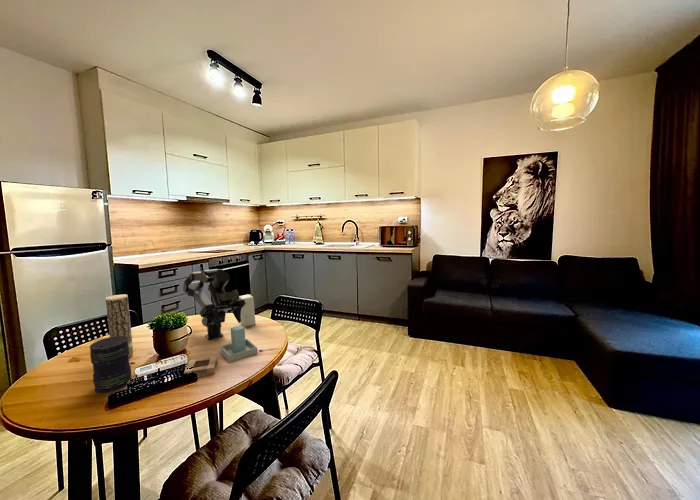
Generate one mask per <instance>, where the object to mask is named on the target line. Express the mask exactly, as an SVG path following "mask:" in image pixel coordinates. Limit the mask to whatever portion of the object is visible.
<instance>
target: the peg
mask: <svg viewBox="0 0 700 500" xmlns="http://www.w3.org/2000/svg"><path fill="white" fill-rule="evenodd" d="M245 328H246V327H245V326H243V325H237V326H236V325H235V326H233V327H230V341H231V342H230V343H231V344H232V352H233V353H238V352H241V351H245V350H246V345H245V339H246V331H245V330H246V329H245Z"/></svg>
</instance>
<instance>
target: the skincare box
mask: <svg viewBox="0 0 700 500" xmlns="http://www.w3.org/2000/svg"><path fill="white" fill-rule="evenodd" d="M240 299H243V300H244V301H245V303H246V304H245V305H244V306H243V308H242V309H241V322H240V323H241V324H242V326H243V327H244V328H246V327H250V326H255V325H256V314H255V313H256V312H255V311H256V310H255V302H254V296H252V295H251V294H250V293H249V294H248V293H247V294H244V295H239V296H238V300H240Z"/></svg>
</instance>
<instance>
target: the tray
mask: <svg viewBox="0 0 700 500" xmlns="http://www.w3.org/2000/svg"><path fill="white" fill-rule="evenodd" d="M245 345H246V350H245V351H241V352H238V353H233V352H232V344H231V342H230V343H226V344H223V345H220V346H219V347H220V353H221V355H223V357H224V358H225V359H226V360H227V363H231V362H235V361H238V360H241V359H244V358H247V357H250V356H255V355H257V354H258V347H257V346H256V344H254V343H253V342H252V341H251V340H249V338H245Z"/></svg>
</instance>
